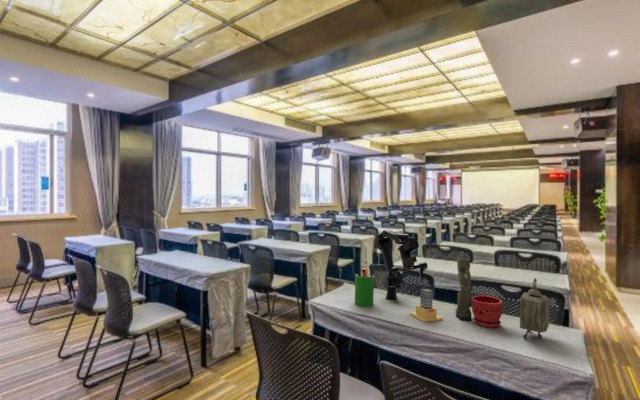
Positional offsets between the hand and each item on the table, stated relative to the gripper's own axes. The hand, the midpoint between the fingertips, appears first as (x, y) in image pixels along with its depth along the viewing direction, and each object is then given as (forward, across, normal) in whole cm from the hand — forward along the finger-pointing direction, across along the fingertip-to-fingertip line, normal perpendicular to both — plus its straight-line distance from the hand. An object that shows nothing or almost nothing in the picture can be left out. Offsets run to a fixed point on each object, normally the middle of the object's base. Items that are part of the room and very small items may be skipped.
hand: (412, 284), depth 177 cm
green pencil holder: (+5, -28, +8) cm, 29 cm away
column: (+16, +3, -2) cm, 16 cm away
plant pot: (+24, +29, -2) cm, 37 cm away
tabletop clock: (+32, +44, -11) cm, 56 cm away
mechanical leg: (+18, +21, +5) cm, 28 cm away
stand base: (+17, +3, -1) cm, 17 cm away
